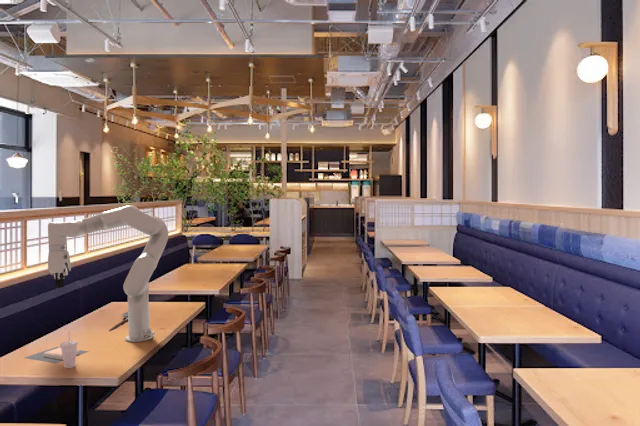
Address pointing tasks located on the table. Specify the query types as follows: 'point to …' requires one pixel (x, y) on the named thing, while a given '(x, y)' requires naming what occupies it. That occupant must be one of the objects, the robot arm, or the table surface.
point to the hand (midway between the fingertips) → (59, 287)
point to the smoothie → (69, 352)
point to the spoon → (121, 322)
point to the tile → (56, 353)
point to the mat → (41, 357)
